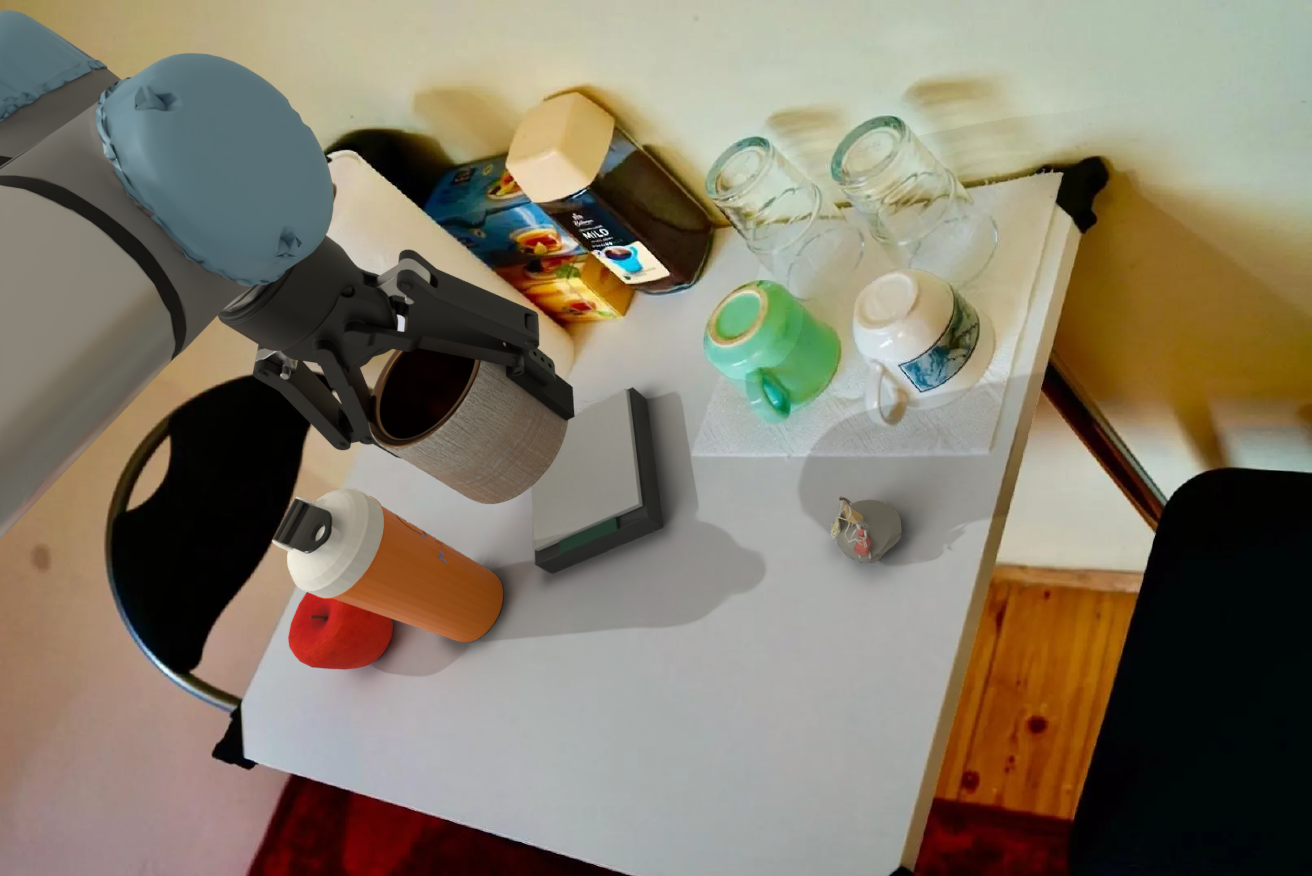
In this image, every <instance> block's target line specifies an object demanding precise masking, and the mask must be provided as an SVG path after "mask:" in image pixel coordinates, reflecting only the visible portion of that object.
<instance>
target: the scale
mask: <svg viewBox="0 0 1312 876" xmlns="http://www.w3.org/2000/svg"><path fill="white" fill-rule="evenodd" d="M648 406H649V405H648V400H647V398H646V397H645V396H644V395H643V394H642V393H640V391H638V390H637V389H636V388H634V387H633V386H631V387H630V388H624V389H623V390H621V391H619V392H617V393H614V394H612V395H610V396H609V397H606V398H604V399H602V400H600V401H598V402H596V403H594V404H591V405H590V406H588V407H587V408H584V409H582V410H580V411H578V412H576V413H574V415H575V417H573V418H571V419H569V420H568V426H567V431H566V435H565V438H564V441H563V444H562V446H561V448H560V450H559V452H558V454H557V456H556V458H555V459H554V461H553V463H552V464H551V466H550V467H549V469H548V470H547V471H546V472H545V473H544V474H543V476H542V477H541V478H540V479H539V480H538V481H537V482H536V483H535V484H534V485H532V486H531V506H532V507H531V508H532V533H533V534H532V537H533V550H534V566H536V567H538V568H539V569H541V570H543V571H545V572H547V573H549V574H551V575H552V574H555V573H557V572H560V571H562V570H564V569H567V568H570V567H571V566H574V565H577V564H579V563H581V562H583V561H587V560H588V559H591V558H593V557H596V556H598V555H601V554H603V553H605V552H608V551H610V550H613V549H615V548H618V547H620V546H622V545H624V544H628V543H629V542H632V541H635V540H636V539H639V538H641V537H643V536H646V535H649V534H651V533H653V532H655V531H658V530H660V529H663V528H664V522H663V516H662V515H663V514H662V507H661V506H662V505H661V499H660V491H659V483H658V476H657V467H656V461H655V460H656V459H655V453H654V452H655V451H654V446H653V445H654V444H653V438H652V431H651V423H650V415H649V414H650V413H649V407H648Z"/></svg>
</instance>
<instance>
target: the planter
mask: <svg viewBox="0 0 1312 876" xmlns="http://www.w3.org/2000/svg"><path fill="white" fill-rule="evenodd" d="M503 344H504V346H505V343H504V342H503ZM567 426H568V420H567V421H566V420H564V419H563V418H561V417H560V416H559V415H557V414H556V413H555V412H553V411H552V410H551V409H549V408H548V407H547V406H545V405H544V404H543V403H541V402H540V401H539V400H537V399H536V398H535V397H533V396H532V395H531V394H529V393H528V392H527V391H525V390H524V389H523V388H521V387H520V386H519V385H517V384H516V383H515V382H513V381H512V380H511V379H509V378H508V377H507V376H506V365H501V364H496V363H491V362H486V361H481V360H476V359H471V358H466V357H461V356H456V355H451V354H446V353H441V352H436V351H431V350H426V349H421V348H416V349H415V350H414V351H412V352H405V351H400V350H395V349H394V351H393V352H392V353H391V356H390V357H388V360H387V362H386V363H385V364H384V366H383V367H382V369H381V371H380V373H379V375H378V377H377V380H376V381H375V385H374V386H373V390H372V393H371V401H370V410H369V428H370V432H371V434H372V436H373V438H374V440H375V441H376V442H377V443H378V444H379V445H380V446H382V447H383V448H385V449H387V450H388V451H390V452H392V453H393V454H395V455H397V456H399V457H400V458H399V459H401V458H402V459H401V460H404V461H405V462H407V463H408V464H411V465H412V466H414V467H416V468H418V469H419V470H421V471H422V472H424V473H426V474H427V475H429V476H431V477H432V478H434V479H435V480H437V481H439V482H440V483H442V484H444V485H445V486H446V487H449V488H450V489H452V490H453V491H455V492H457V493H459V494H460V495H462V496H463V497H465V498H467V499H469V500H472V501H474V502H477V503H479V504H484V505H496V504H501V503H505V502H509V501H510V500H513V499H515V498H517V497H518V496H520V495H522V494H523V493H525V492H526V491H527V490H530V488H532V485H534V484H535V483H536V482H537V481H538V480H539V479H540V478H541V477H542V476H543V474H544V473H545V472H546V471H547V470H548V469H549V467H550V466H551V464H552V463H553V461H554V459H555V458H556V456H557V454H558V452H559V450H560V448H561V446H562V444H563V441H564V438H565V435H566V431H567Z"/></svg>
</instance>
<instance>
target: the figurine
mask: <svg viewBox="0 0 1312 876" xmlns="http://www.w3.org/2000/svg"><path fill="white" fill-rule="evenodd" d="M838 500H839V503H840V504H839V511H838V512H839V513H838V515H837V516H836V519H835V520H834V521H832V522H831V526H830V535H831V537H832V538H831V540H835V539H836V544H837V546H838V547H839V548H840V549H841V550H842V552H843V553H844V554H845V556H846V557H847V558H850V559H852V560H855V561H857V562H859V563H864V564H874V563H877V562H878V561H879V560H880V559H881V558H882V557H883V556H884V555H885V554H886V553H887V552H888V551H889V550H890V549H891V548H893V547H894V546H895V545H896V544H897V543H898V542H899V541H900V540H901V538H902V533H903V532H902V522H901V521H902V517H901V515H900V514H899V513H898V512H897V511H896V509H894V508H893V507H892V506H891V505H889V504H888V503H886V502H883V501H881V500H876V499H864V500H863V499H862V500H858V501H855V502H852V501H851V500H849V499H847V497H844V496H843V495H841V496H839V497H838Z"/></svg>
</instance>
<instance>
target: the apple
mask: <svg viewBox="0 0 1312 876" xmlns="http://www.w3.org/2000/svg"><path fill="white" fill-rule="evenodd" d="M393 628H394V623H393V620H392V619H391V618H388V617H385V616H382V615H379V614H376V613H373V612H371V611H368V610H365V609H362V608H359V607H356V606H353V605H350V604H347V603H344V602H341V601H338V600H335V599H332V598H328V599H324V598H320V597H317V596H316V595H314V594H311V593H309V592H306V591H305V593H304V596H302V599H301V600H300V602H299V603H298V605H297V608H296V610H295V613H294V614H293V617H292V619H291V621H290V626H289V631H288V635H287V640H288V641H287V642H288V647H289V649H290V651H291V652H292V654H293V656H294V657H295V658H296V659H297V660H298V661H299V663H301V664H304V665H305V666H308V667H310V668H316V669H325V670H344V671H345V670H346V671H347V670H355V669H359V668H363V667H367V666H369V665H371V664H373V663H374V662H377V660H379V658H380V657H382V656H383V654H384V652H385V651H386V650H387V648H388V647H389V644H390V642H391V640H392V637H393V631H394V629H393Z"/></svg>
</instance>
